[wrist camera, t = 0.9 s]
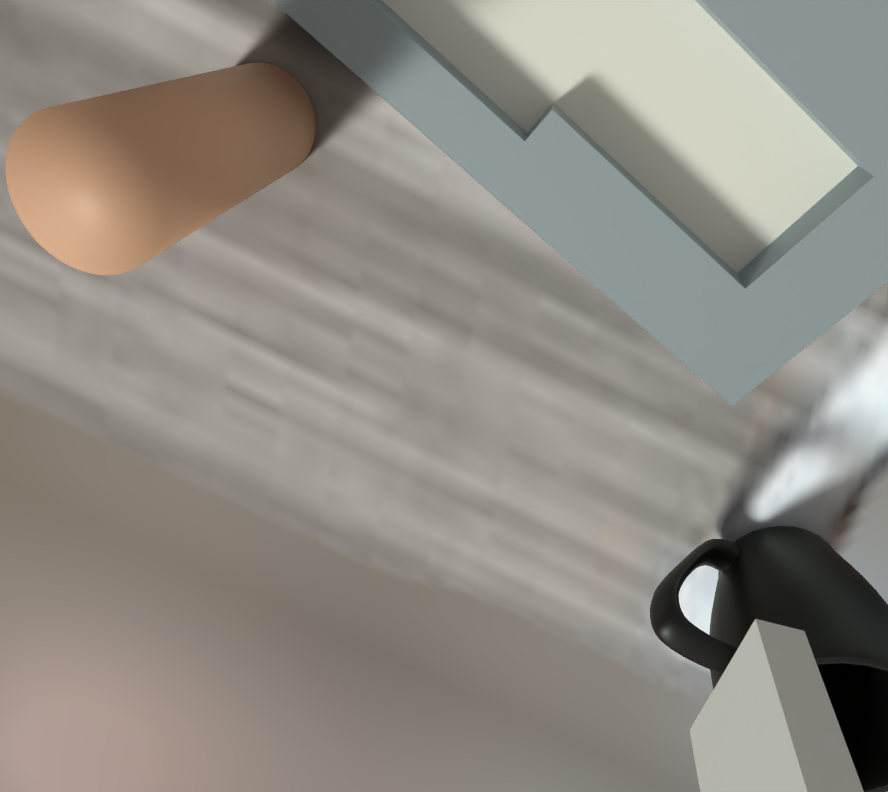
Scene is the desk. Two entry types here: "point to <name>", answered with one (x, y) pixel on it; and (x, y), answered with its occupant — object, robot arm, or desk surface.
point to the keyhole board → (661, 149)
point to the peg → (154, 162)
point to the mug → (794, 626)
